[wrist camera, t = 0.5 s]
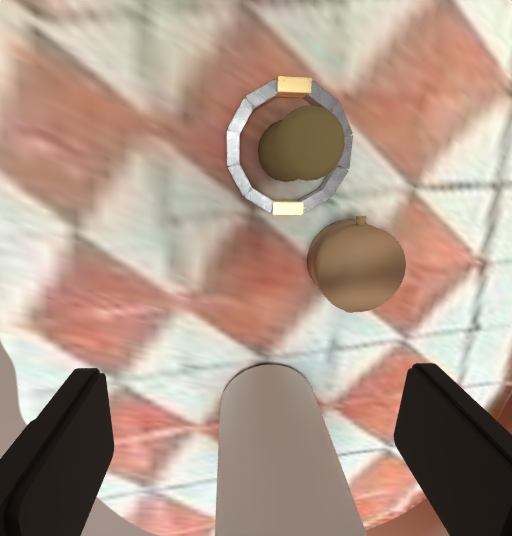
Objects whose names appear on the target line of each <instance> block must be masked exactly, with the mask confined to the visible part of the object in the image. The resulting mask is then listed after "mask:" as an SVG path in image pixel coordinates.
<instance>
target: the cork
mask: <svg viewBox="0 0 512 536" xmlns="http://www.w3.org/2000/svg"><path fill="white" fill-rule="evenodd" d="M344 147H345V134H344V131H343V128H342V125H341V123H340V121H339V120H338V119H337V117H336V116H335V115H334V114H333V113H332V112H330V111H329V110H327V109H326V108H322V107H318V106H314V105H312V106H303V107H300V108H298V109H296V110H294V111H292V112H291V113H290V114H289V115H288V116H287V117H286V118H285V119H284V120H280V121H278V122H276V123H274V124H272V125H271V126H270V127H269V128H268V129H267V130H266V131H265V132H264V134H263V135H262V137H261V139H260V143H259V148H258V154H259V161H260V163H261V165H262V168H263V169H264V170H265V171H266V173H267V174H268V175H269V176H271V177H272V178H274V179H276V180H279V181H284V182H287V181H294V180H296V179H301V180H306V181H308V180H316V179H319V178H321V177H323V176H325V175H327V174H328V173H329V172H330V171H331V170H333V169H334V168H335V167H336V165H337V164H338V162H339V160H340V159H341V157H342V154H343V150H344Z"/></svg>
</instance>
